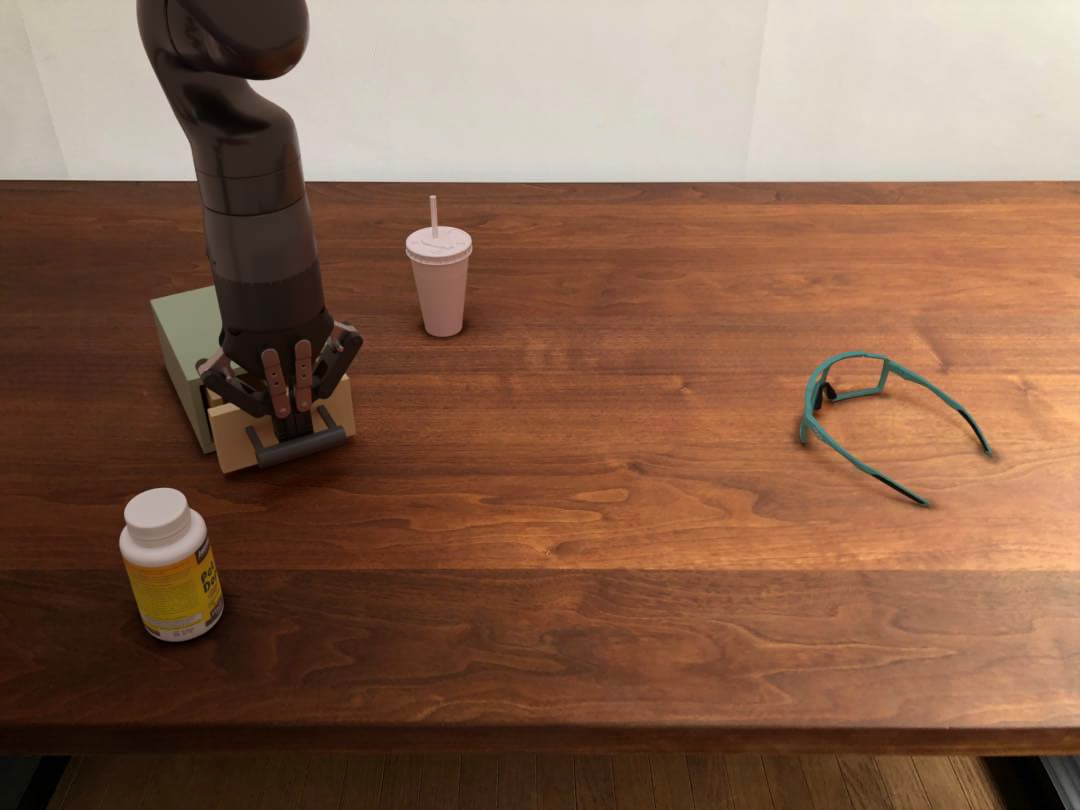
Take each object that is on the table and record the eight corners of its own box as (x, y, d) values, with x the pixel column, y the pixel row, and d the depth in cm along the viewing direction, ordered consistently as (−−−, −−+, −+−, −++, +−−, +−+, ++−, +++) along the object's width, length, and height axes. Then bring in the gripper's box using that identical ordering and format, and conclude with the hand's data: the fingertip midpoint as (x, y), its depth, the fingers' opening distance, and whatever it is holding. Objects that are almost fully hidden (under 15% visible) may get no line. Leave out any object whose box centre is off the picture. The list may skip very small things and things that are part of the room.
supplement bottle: (226, 637, 73) (198, 527, 67) (142, 652, 72) (106, 542, 66) (225, 581, 77) (199, 473, 71) (146, 594, 76) (113, 486, 70)
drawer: (377, 466, 87) (370, 409, 83) (240, 509, 82) (227, 451, 79) (306, 357, 100) (298, 304, 97) (185, 390, 96) (172, 335, 92)
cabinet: (345, 413, 94) (336, 341, 90) (204, 454, 89) (187, 380, 85) (295, 336, 105) (285, 268, 100) (166, 369, 100) (149, 299, 95)
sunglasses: (855, 372, 100) (869, 330, 96) (997, 458, 92) (1018, 415, 88) (762, 433, 92) (775, 389, 89) (909, 532, 84) (928, 488, 81)
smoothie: (451, 304, 110) (444, 178, 102) (488, 329, 106) (484, 200, 98) (399, 324, 107) (388, 196, 98) (435, 351, 103) (427, 220, 94)
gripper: (181, 299, 70) (227, 497, 80) (370, 254, 75) (390, 446, 85) (157, 251, 75) (202, 443, 85) (334, 212, 80) (357, 398, 90)
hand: (296, 444), depth 85 cm, fingers closed
